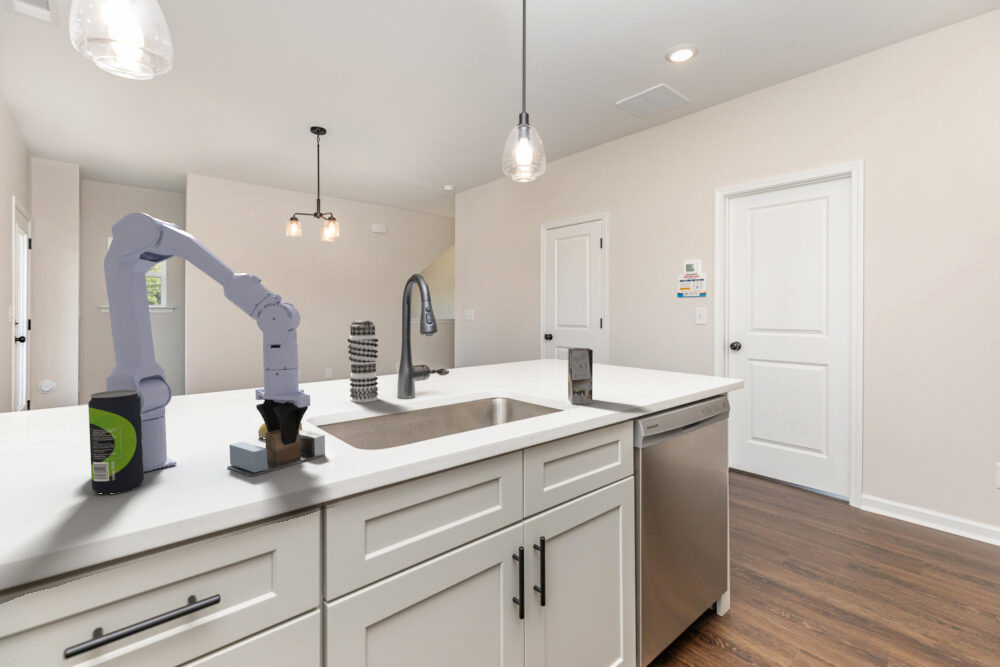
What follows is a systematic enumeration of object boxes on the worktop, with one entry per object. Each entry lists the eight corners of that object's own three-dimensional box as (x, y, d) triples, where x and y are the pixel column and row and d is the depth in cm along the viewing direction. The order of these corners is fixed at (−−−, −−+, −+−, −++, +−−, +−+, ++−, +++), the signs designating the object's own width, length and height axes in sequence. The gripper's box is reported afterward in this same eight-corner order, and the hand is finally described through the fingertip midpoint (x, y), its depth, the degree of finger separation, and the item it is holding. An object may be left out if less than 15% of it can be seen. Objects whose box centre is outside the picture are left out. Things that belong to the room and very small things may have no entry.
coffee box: (593, 404, 136) (593, 349, 136) (571, 404, 137) (571, 349, 136) (588, 398, 145) (588, 347, 145) (567, 398, 146) (567, 347, 145)
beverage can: (148, 487, 72) (144, 392, 72) (95, 499, 68) (91, 397, 67) (139, 478, 76) (135, 388, 76) (89, 489, 72) (85, 393, 71)
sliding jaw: (254, 472, 77) (253, 451, 77) (230, 464, 82) (229, 444, 81) (268, 468, 79) (268, 448, 79) (244, 460, 84) (244, 441, 84)
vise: (251, 477, 77) (250, 453, 77) (227, 468, 81) (226, 446, 81) (325, 455, 88) (324, 435, 88) (300, 448, 93) (299, 429, 93)
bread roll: (259, 434, 105) (258, 417, 105) (302, 430, 109) (301, 413, 109) (257, 443, 98) (256, 425, 97) (303, 438, 101) (302, 420, 101)
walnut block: (299, 456, 86) (299, 430, 86) (276, 463, 83) (275, 435, 82) (289, 453, 88) (288, 427, 88) (266, 459, 85) (265, 432, 84)
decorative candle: (371, 402, 141) (370, 320, 140) (343, 402, 143) (341, 321, 142) (383, 397, 150) (382, 320, 149) (357, 396, 152) (355, 320, 151)
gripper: (324, 368, 84) (326, 442, 85) (279, 364, 92) (281, 431, 93) (288, 372, 78) (290, 452, 79) (243, 367, 86) (245, 439, 87)
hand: (283, 441), depth 85 cm, fingers closed on walnut block, 3 cm apart
